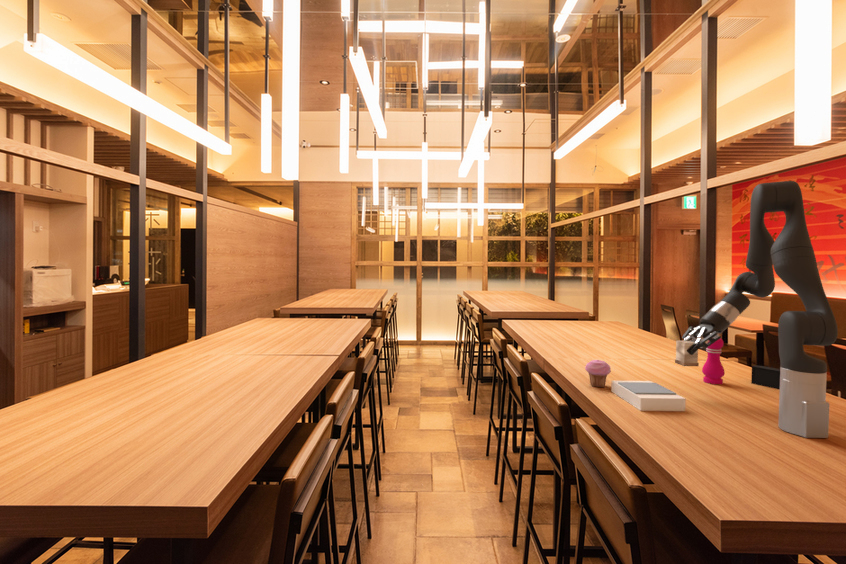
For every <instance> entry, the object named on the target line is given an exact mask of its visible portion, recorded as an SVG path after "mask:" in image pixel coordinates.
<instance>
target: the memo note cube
mask: <svg viewBox="0 0 846 564" xmlns="http://www.w3.org/2000/svg"><path fill="white" fill-rule="evenodd" d="M675 343H676V344H675V346H676V347H675V348H676V349H675V360H674V363H675V364H677V365H679V366H683V367H699V349H698V350H697V351H696V352H695V353H694V354H693V355H690V354H689V353H688V352H687V349H688V348H689V347H690V346H691V345H693V344H694V343H695V342H692V341H691V340H690V341H684V340H675ZM695 344H696V343H695Z"/></svg>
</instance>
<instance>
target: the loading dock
mask: <svg viewBox="0 0 846 564" xmlns="http://www.w3.org/2000/svg"><path fill="white" fill-rule="evenodd" d="M610 385H611V386H610V387H611V388H610V389H611V391H610V392H611V393H613V394H615V395H616V396H617V397H619V398H621V399H622V400H624V401H625V402H627V403H628V404H630V405H631V406H633V407H634V408H635V409H637V410H638V411H641V412H651V411H652V412H686V401H687V400H686V398H685V397H684V396H681V395H679V394H677V393H676V392H675V391H673V390H671V389H668V388H667V387H665V386H662V385H660V384H659V383H657V382H654V381H652V380H615V379H614V380H611V384H610Z"/></svg>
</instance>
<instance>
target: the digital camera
mask: <svg viewBox="0 0 846 564" xmlns="http://www.w3.org/2000/svg"><path fill="white" fill-rule="evenodd" d="M750 381H751V384H753V385H757V386H762V387H766V388H771V389H775V390H780V368H775V367H770V366H766V365H765V366H764V365H758V364H756V365H752V366H751V380H750Z"/></svg>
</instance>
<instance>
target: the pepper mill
mask: <svg viewBox="0 0 846 564" xmlns="http://www.w3.org/2000/svg"><path fill="white" fill-rule="evenodd" d="M712 339H713V338H712ZM708 342H709V341H708ZM724 345H725V344H724V340H723V339H722V337H721V338H720V339H719V340H717V341H716V342H714V343H713V344H711V345H710V346H709V347H707V348H705V351H706V353H707V357H706V360H705V362H704V364H703V365H702V370H701V372H702V374H703V378H702V381H703V382H704V383H706V384H709V383H711V384H710V385H716V384H721V385H723V383H724V379H723V377H724V376H725V368H724V366H723V364H722V362H721V354H722V351H723V349H722V348H723V347H724Z"/></svg>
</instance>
